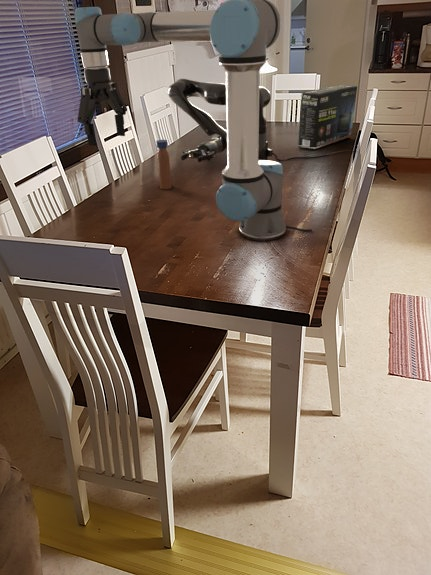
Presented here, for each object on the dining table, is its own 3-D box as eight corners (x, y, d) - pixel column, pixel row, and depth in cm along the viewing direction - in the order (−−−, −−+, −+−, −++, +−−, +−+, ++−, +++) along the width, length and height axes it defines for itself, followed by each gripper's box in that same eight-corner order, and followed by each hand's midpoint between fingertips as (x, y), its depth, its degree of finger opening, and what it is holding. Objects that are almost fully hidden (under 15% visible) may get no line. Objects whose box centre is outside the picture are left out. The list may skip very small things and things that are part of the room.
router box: (314, 151, 231) (318, 94, 217) (296, 148, 237) (299, 92, 224) (352, 138, 251) (358, 85, 238) (335, 135, 258) (340, 83, 245)
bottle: (159, 189, 190) (155, 143, 180) (160, 185, 194) (156, 140, 184) (171, 189, 190) (167, 143, 180) (172, 185, 194) (168, 140, 184)
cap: (156, 148, 181) (155, 142, 180) (157, 145, 185) (156, 139, 184) (167, 147, 181) (166, 142, 180) (168, 145, 185) (167, 139, 184)
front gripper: (114, 63, 147) (123, 131, 158) (55, 72, 129) (70, 148, 140) (132, 63, 144) (140, 132, 155) (75, 72, 126) (88, 150, 137)
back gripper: (193, 140, 217) (175, 148, 205) (220, 143, 212) (203, 152, 199) (194, 156, 221) (177, 165, 209) (221, 159, 215) (204, 169, 203)
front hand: (107, 140), depth 148 cm, fingers open, 13 cm apart
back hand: (190, 158), depth 204 cm, fingers open, 8 cm apart
